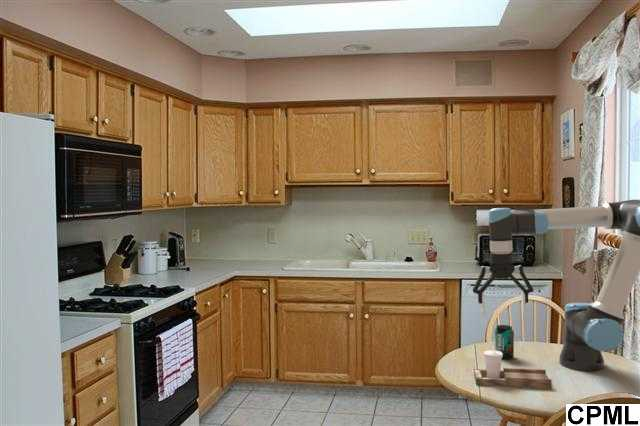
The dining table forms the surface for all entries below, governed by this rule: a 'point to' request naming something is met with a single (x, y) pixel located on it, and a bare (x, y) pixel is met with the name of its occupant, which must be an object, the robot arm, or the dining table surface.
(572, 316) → the robot arm
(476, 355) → the dining table surface
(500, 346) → the beverage can
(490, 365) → the smoothie
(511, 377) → the rail board
